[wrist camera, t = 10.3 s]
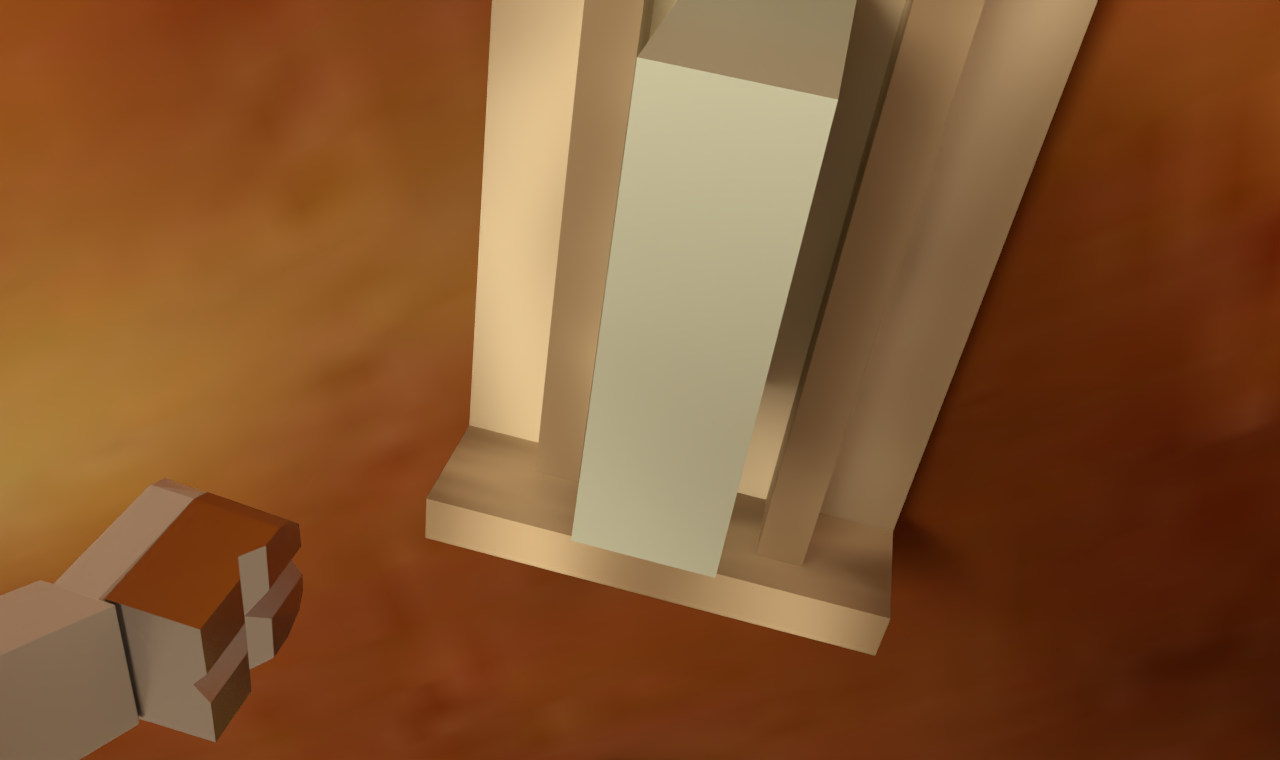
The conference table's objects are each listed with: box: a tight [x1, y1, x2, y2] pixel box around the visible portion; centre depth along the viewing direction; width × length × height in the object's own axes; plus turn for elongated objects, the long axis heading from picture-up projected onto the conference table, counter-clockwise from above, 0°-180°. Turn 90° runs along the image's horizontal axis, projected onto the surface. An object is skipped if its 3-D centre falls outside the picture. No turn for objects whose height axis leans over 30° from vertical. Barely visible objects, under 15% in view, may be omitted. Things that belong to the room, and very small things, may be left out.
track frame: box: [426, 0, 1098, 655], centre depth 23 cm, size 12×21×4 cm, turn 172°
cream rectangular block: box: [571, 0, 856, 578], centre depth 21 cm, size 3×10×7 cm, turn 172°
